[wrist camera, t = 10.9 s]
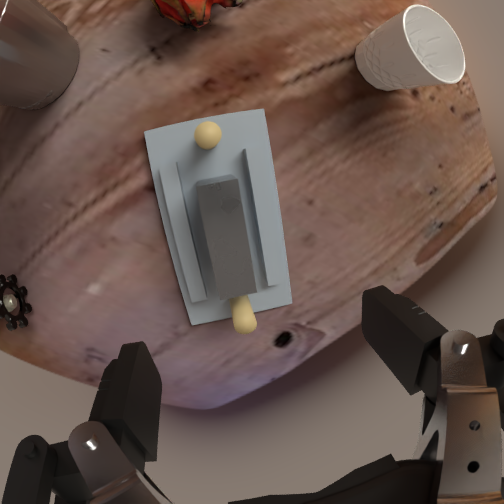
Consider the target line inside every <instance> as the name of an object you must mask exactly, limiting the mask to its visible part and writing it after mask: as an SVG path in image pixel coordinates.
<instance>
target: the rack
mask: <svg viewBox="0 0 504 504" xmlns="http://www.w3.org/2000/svg"><path fill="white" fill-rule="evenodd" d="M144 134H145V139H146V145H147V150H148V156H149V161H150V166H151V171H152V176H153V181H154V185H155V190H156V195H157V199H158V204H159V208H160V212H161V216H162V221H163V225H164V229H165V233H166V237H167V241H168V245H169V249H170V252H171V256H172V260H173V264H174V267H175V271H176V274H177V278H178V281H179V285H180V288H181V292H182V295H183V299H184V302H185V305H186V308H187V312H188V315H189V318H190V321H191V324H192V325H196V324H201V323H207V322H212V321H217V320H221V319H226V318H231V317H232V318H233V323H234V328H235V330H236V331H237V332H238V333H240V334H249V333H251V332H252V331H254V330H255V328H256V326H257V322H256V319H255V316H254V312H258V311H263V310H267V309H271V308H276V307H280V306H284V305H288V304H292V297H291V288H290V280H289V272H288V264H287V256H286V249H285V241H284V234H283V227H282V220H281V213H280V206H279V199H278V192H277V186H276V179H275V173H274V166H273V160H272V154H271V148H270V142H269V136H268V130H267V124H266V118H265V113H264V109H257V110H249V111H242V112H236V113H229V114H223V115H217V116H212V117H206V118H201V119H196V120H191V121H186V122H182V123H177V124H173V125H169V126H164V127H160V128H156V129H152V130H149V131H145V132H144ZM229 174H231V175H233V176H234V177H236V178H238V182H239V188H240V194H241V200H242V206H243V212H244V217H245V223H246V229H247V235H248V241H249V247H250V253H251V258H252V264H253V270H254V276H255V282H256V288H257V293H253V294H248V295H244V296H239V297H234V298H229V299H224V300H220V297H219V293H218V289H217V284H216V280H215V275H214V271H213V267H212V262H211V258H210V253H209V248H208V244H207V239H206V235H205V230H204V225H203V220H202V215H201V210H200V205H199V200H198V195H197V190H196V185H197V182H198V180H203V179H208V178H213V177H218V176H223V175H229Z"/></svg>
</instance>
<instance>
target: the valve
mask: <svg viewBox="0 0 504 504" xmlns="http://www.w3.org/2000/svg"><path fill="white" fill-rule="evenodd" d="M7 280H9V282H6V278H5V276H4V275H2V274H1V275H0V319H1V318H4V317H5V319H6V320H7V321H8V322H9V323H8V324H6V326H7V328H8V330H10V331H12V330H15V329H16V328H17V322H16V321H19V322H20V324H19V327H21V328H23V327H26V326H27V325H28V320H27V318H26V317H25V316H24V314H27V313H30V312H31V311H32V307H31V305H30V304H29V303H25V300H24V296H25V295H27V289H26V287H24V286H22V287H20V288H18V287H17V285H16V283H17V278H16V276H15V275H14V274H12V275H10V276H8V277H7ZM6 288H10V289H12V290H13V291H14V292H15V294H14V295H12V294H9V295H4V296H3V293H4V290H5V289H6ZM16 298H18V299H19V303H20V310H19V313H18V315H17V316H14V315H12V314H10V313H9V312H11V311H13V309H15V308H16V307H17V300H16Z"/></svg>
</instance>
